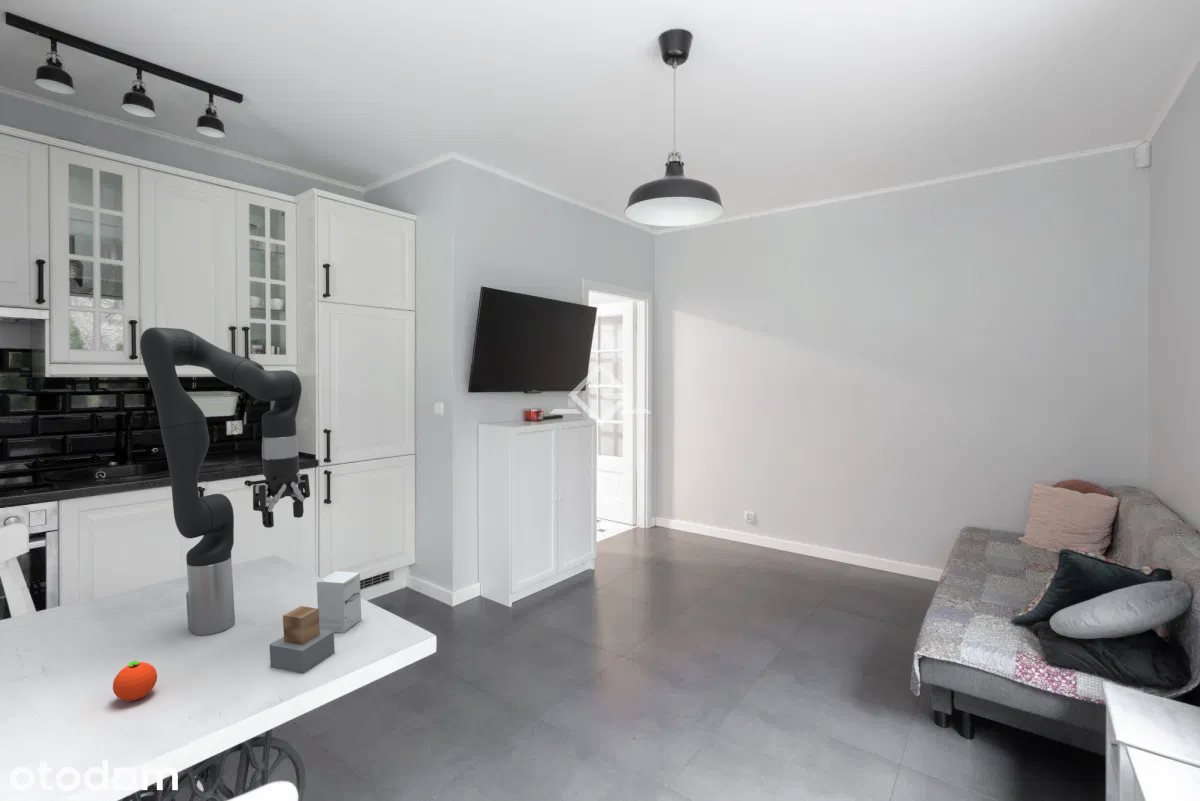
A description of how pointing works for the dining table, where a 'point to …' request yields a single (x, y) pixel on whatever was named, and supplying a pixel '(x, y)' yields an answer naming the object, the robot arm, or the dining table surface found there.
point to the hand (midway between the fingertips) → (283, 522)
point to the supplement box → (339, 601)
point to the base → (302, 652)
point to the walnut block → (301, 625)
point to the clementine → (134, 681)
